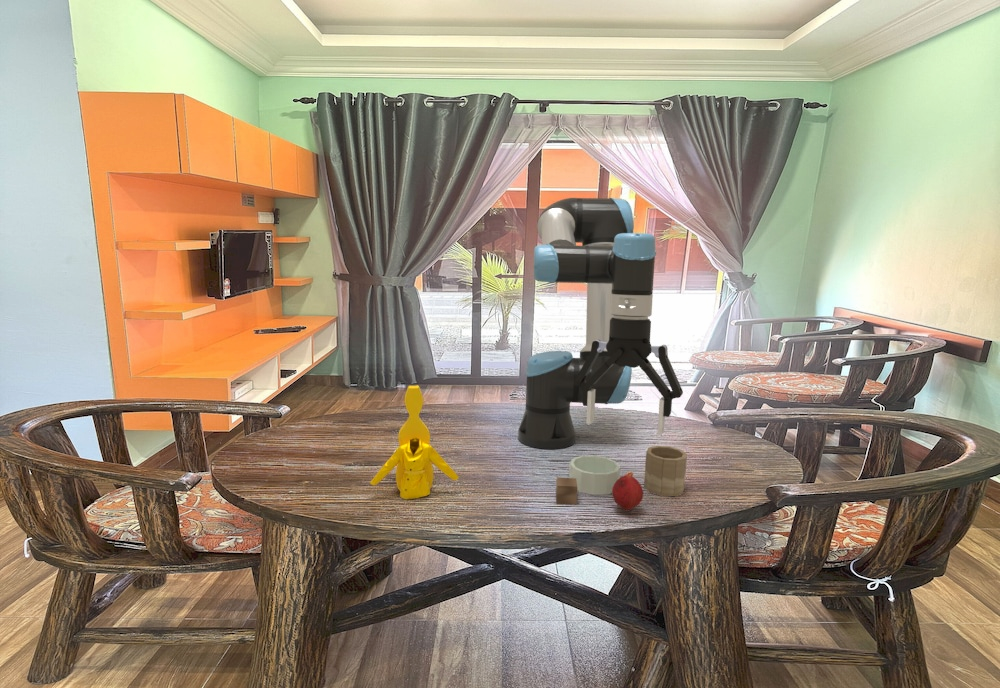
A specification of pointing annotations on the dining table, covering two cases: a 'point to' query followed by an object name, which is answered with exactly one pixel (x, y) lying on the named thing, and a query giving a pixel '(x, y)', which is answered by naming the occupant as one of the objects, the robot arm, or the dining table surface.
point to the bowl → (594, 474)
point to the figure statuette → (414, 453)
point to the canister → (665, 470)
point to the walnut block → (566, 491)
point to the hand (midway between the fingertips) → (624, 427)
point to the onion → (627, 492)
